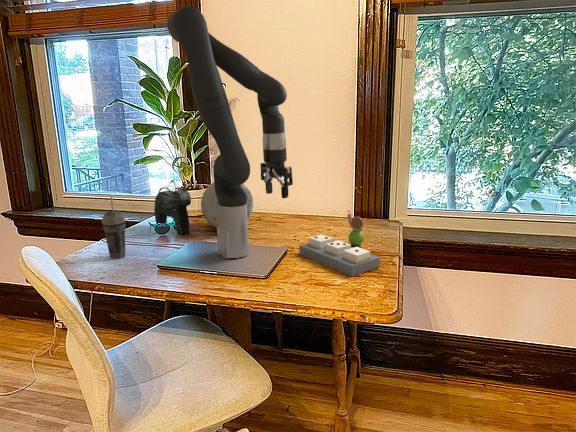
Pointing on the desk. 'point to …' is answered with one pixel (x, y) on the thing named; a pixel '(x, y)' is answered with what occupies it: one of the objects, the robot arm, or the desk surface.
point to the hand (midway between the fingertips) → (277, 195)
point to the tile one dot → (356, 254)
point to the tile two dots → (320, 241)
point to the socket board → (339, 260)
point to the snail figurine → (355, 230)
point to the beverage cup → (115, 232)
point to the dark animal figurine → (173, 208)
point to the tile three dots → (337, 247)
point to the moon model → (211, 204)
